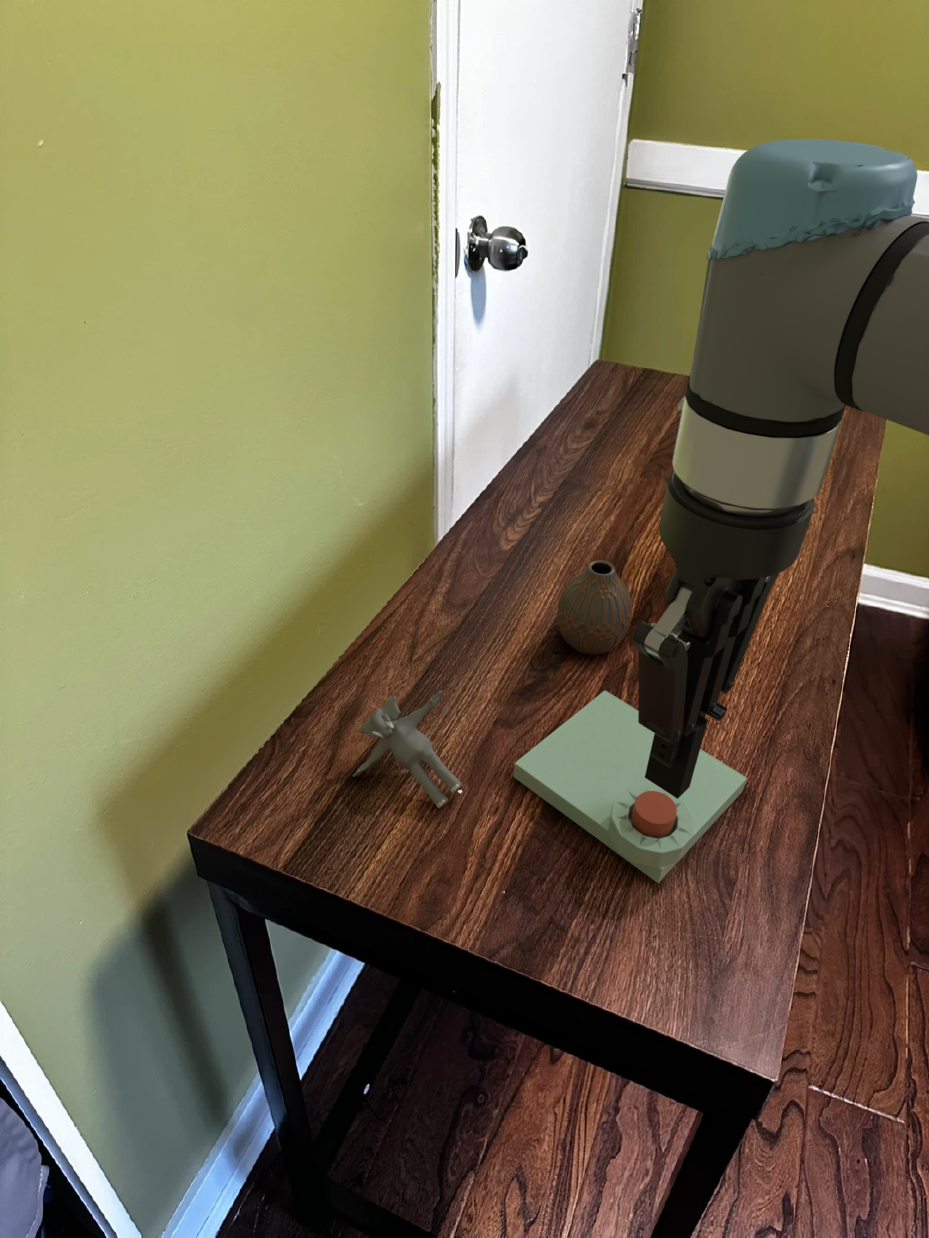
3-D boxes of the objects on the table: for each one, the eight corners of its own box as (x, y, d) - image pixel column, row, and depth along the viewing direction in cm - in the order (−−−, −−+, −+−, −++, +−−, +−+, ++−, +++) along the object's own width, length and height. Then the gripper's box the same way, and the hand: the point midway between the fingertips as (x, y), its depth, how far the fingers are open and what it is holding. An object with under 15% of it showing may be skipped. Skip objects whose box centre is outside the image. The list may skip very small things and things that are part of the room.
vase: (543, 651, 81) (552, 577, 76) (568, 611, 86) (577, 538, 81) (613, 674, 79) (627, 599, 74) (634, 631, 84) (649, 557, 78)
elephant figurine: (392, 845, 64) (319, 754, 66) (418, 836, 70) (350, 753, 72) (488, 754, 63) (410, 665, 65) (506, 753, 68) (434, 671, 71)
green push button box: (747, 794, 68) (758, 765, 66) (655, 895, 61) (664, 866, 59) (602, 703, 76) (607, 674, 74) (505, 783, 69) (507, 753, 66)
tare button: (681, 820, 62) (685, 807, 61) (657, 844, 61) (661, 831, 60) (646, 797, 64) (650, 783, 63) (623, 820, 62) (626, 806, 61)
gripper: (741, 420, 50) (673, 708, 65) (609, 499, 43) (565, 804, 58) (865, 464, 46) (762, 760, 61) (743, 560, 39) (659, 871, 53)
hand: (667, 781), depth 59 cm, fingers closed
